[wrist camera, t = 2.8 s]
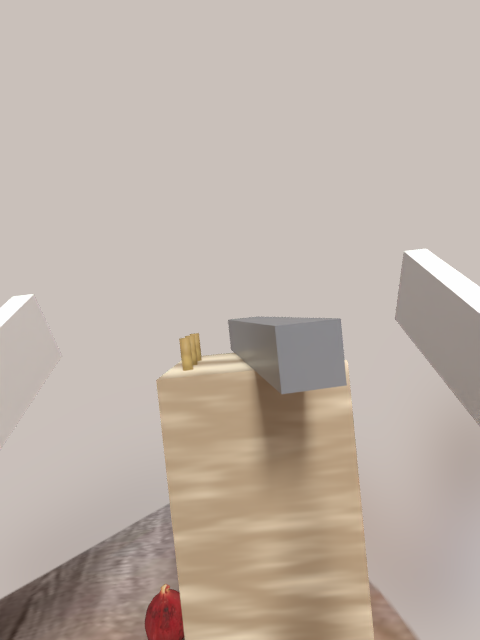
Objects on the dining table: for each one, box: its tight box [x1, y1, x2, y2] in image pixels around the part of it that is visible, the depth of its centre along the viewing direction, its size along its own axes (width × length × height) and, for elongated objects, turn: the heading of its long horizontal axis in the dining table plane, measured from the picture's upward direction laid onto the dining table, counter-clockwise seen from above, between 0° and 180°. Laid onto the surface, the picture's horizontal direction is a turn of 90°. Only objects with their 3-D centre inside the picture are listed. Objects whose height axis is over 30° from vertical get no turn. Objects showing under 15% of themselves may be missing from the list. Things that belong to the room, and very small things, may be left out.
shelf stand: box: [156, 333, 374, 640], centre depth 37 cm, size 14×16×41 cm
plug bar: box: [228, 317, 347, 394], centre depth 34 cm, size 27×4×4 cm, turn 8°
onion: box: [145, 584, 184, 640], centre depth 47 cm, size 6×6×8 cm
